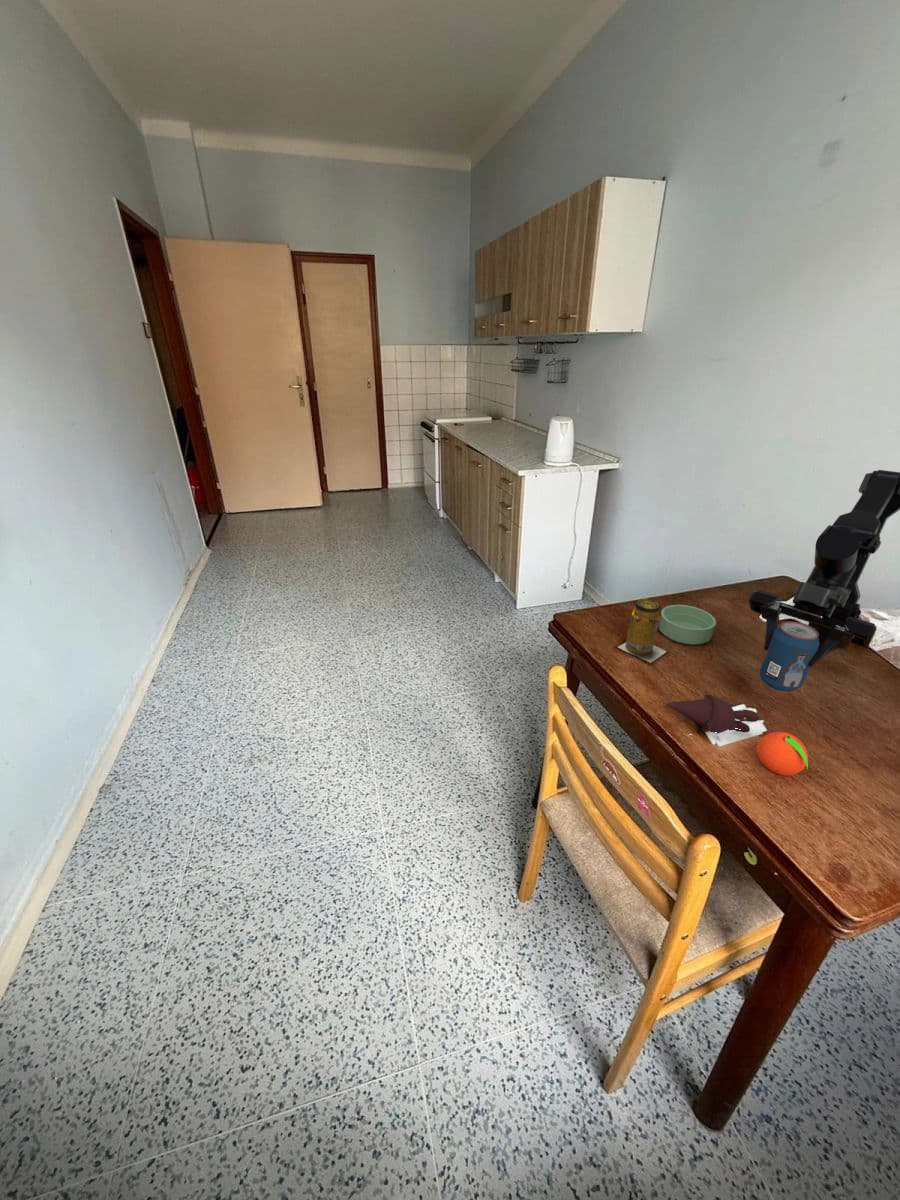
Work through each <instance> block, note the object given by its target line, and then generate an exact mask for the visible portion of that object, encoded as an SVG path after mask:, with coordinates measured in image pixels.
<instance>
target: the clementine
mask: <svg viewBox="0 0 900 1200" xmlns="http://www.w3.org/2000/svg"><path fill="white" fill-rule="evenodd" d="M756 747H757V748H756V750H757V752H756V753H757V756H758V758H759V761H760V762H761V764H762V765H763V766H764V767H765V768H766V769H767V770H769V771H771V772H772V773H775V774H778V775H781V776H793V775H794V776H795V775H796V774H799V773H801V772H802V771H803V770H804V769H805V768H806V769H809V768H808V767H809V763H808V760H809V754H808V750H807V748H806V746H805V744H804V743H803V741H802V740H800V739H799V738H798V737H796V736H795V735H793V734H792V733H789V732H784V731H773V732H769V733H766V734H765V735H763V736H762V737H761V738H760V740H759V741H758V744H757V746H756Z"/></svg>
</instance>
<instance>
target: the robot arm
mask: <svg viewBox="0 0 900 1200" xmlns="http://www.w3.org/2000/svg"><path fill="white" fill-rule="evenodd" d="M857 491H858V493H859V494H861V495H860V497H859V499H858V500H857V502H856V503H855V505H854V506H853V508H852V509H851V511H850V512H846V513H843V514H841V515H839V516H838V517H837V518H836V520H835V521H834V522H833V524H832V525H831V524H829V525H827V527H825V529H824V530H823V531H822V532H821V533H820V535H819V536H818V537H817V540H816V541H815V548H814V558H813V559H814V561H813V562H814V566H813V567H812V570H811V571H810V574H809V575H808V578H807V579H806V581H805V582H804V581H801V582H800V583H799V585H798V587H797V590H796V592H795V594H794V596H793V598H792V604H793V605H791V604H788V603H785V602H782V601H780V598H779V594H776V593H773V592H770V591H766V590H762V589H757V590H756V589H755V590H754V591H753V592H752V593H751V595H750V597H749V600H748V602H749V608H750V610H751V611H753V612H755V613H757V614H760V616H761V619H764V620H766V628H765V638H764V646H763V649H764V650H765V651H767V649H768V647H769V644H770V641H771V638H772V636H773V633H774V631H775V630H776V629H777V628H778V627H779V624H780V616H781V614H782V615H785V616H789V617H792V618H795V619H798V620H801V621H804V622H807V623H808V624H807V625H809V626H811V627H813V628H814V629H816V630H817V631H818V633H819V636H818V638H819V642H820V645H819V647H818V650H817V652H816V653H815V655H814V656H813V658H812V660H811V662H810V664H809V666H810V668H812V667H813V666H815V665H816V664H817V663H819V662H820V661H821V660H822V659H824V658H825V657H826V656H828V655H829V654H830V653H832V652H833V651H835V650H836V649H838V648H843V647H850V646H851V645H855V646H858V647H861V648H867V649H868V648H869V646H870V645H871V643H872V641H873V639H874V637H875V634H876V632H877V626H876V624H875V623H874V622H870V621H866V620H864V619H860V618H861V617H860V616H861V614H862V610H861V604H860V603H859V600H860V598H861V592H860V588H859V584H858V582H859V580H860V578H861V576H862V574H863V572H864V569H865V567H866V565H867V564H868V561H869V558H870V557H871V555H874V554H875V553H876V552H877V551H878V550H879V549H880V546H881V545H882V541H881V533H882V531H883V529H884V527H885V524H886V523H887V520H888V519H889V518H891V517H892V516H893V515H895V514H896V513H898V512H899V511H900V472H899V471H893V470H885V469H878V470H873V471H872V472H868V473H865V474H864V477H863V479H862V481H861V484H860V485H859V488H858V490H857Z"/></svg>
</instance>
